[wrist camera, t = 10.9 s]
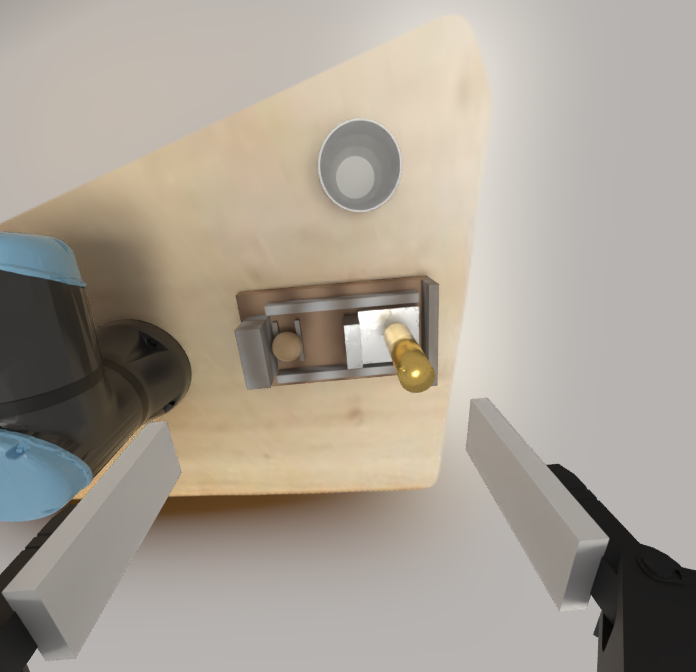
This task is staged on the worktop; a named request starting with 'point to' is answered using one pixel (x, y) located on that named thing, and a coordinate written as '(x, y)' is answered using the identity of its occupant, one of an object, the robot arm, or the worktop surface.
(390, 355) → the lever
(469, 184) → the worktop surface
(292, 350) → the nut
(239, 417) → the worktop surface
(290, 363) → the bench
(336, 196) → the cup
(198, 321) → the worktop surface
